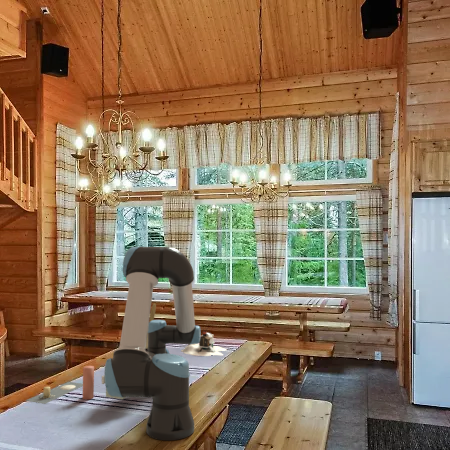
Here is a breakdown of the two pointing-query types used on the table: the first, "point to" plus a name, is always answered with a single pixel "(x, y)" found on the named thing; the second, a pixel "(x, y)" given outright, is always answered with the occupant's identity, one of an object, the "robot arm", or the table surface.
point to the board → (55, 392)
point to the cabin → (204, 346)
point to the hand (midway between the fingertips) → (111, 381)
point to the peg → (88, 382)
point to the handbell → (151, 320)
